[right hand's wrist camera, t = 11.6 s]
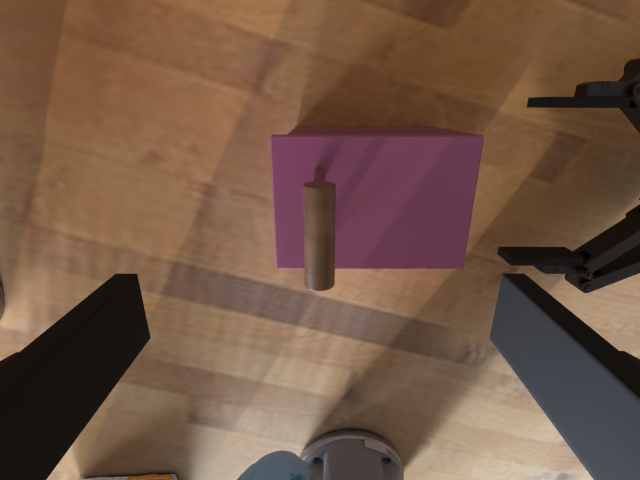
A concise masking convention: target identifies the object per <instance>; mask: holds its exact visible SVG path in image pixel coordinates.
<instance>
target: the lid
mask: <svg viewBox="0 0 640 480" xmlns="http://www.w3.org/2000/svg"><path fill="white" fill-rule="evenodd" d="M483 140H484V136H481V135H272V136H271V158H272V178H273V199H274V220H275V240H276V261H277V268H278V269H305V286H306V287H307V288H309V289H311V290H315V291H324V290H328V289H331V288H332V287H333V286H334V280H335V269H463V265H464V258H465V252H466V246H467V240H468V233H469V227H470V221H471V215H472V209H473V202H474V196H475V190H476V184H477V177H478V171H479V165H480V159H481V152H482V146H483Z"/></svg>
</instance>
